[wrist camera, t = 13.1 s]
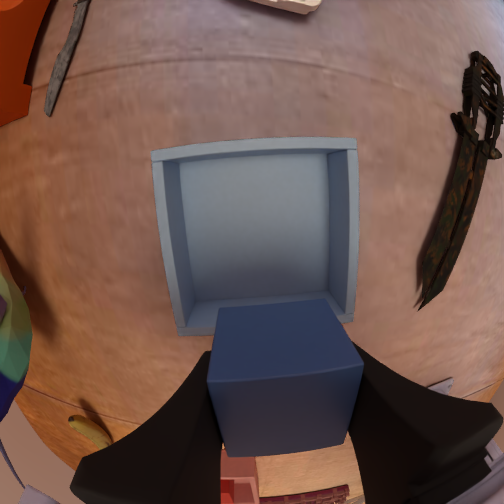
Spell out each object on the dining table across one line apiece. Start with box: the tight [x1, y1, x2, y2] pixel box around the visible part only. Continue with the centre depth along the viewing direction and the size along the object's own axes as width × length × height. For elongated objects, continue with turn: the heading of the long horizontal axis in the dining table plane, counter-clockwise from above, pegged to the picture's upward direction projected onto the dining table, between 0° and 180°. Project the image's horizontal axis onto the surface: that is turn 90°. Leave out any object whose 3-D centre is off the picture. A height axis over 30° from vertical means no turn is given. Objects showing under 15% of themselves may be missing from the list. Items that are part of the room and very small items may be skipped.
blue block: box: [207, 298, 364, 457], centre depth 9 cm, size 4×4×4 cm
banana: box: [68, 415, 112, 450], centre depth 21 cm, size 10×2×4 cm, turn 2°
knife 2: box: [418, 51, 504, 311], centre depth 15 cm, size 25×6×1 cm, turn 154°
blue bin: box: [151, 137, 359, 336], centre depth 15 cm, size 10×10×4 cm
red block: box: [221, 479, 234, 504], centre depth 23 cm, size 4×4×4 cm
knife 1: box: [44, 0, 89, 117], centre depth 11 cm, size 17×1×3 cm
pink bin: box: [221, 450, 260, 504], centre depth 23 cm, size 10×10×4 cm
